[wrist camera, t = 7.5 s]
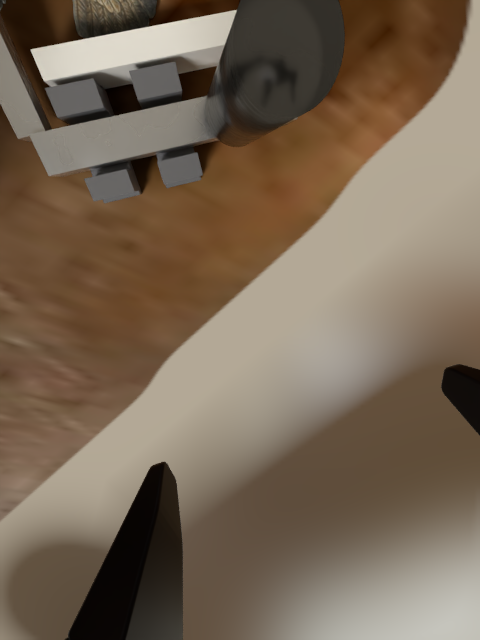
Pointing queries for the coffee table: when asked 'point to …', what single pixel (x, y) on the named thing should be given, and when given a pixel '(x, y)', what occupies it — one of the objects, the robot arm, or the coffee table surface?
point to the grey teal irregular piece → (205, 112)
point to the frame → (136, 51)
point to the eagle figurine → (110, 16)
